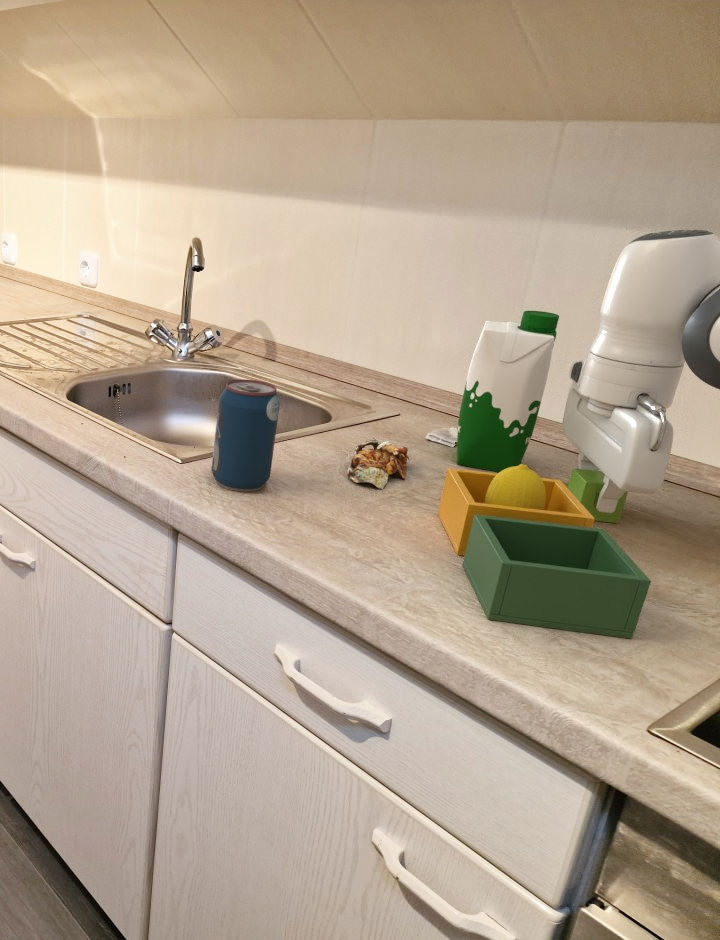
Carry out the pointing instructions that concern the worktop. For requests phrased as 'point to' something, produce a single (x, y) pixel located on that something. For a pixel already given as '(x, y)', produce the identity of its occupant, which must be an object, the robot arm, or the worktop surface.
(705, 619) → the worktop surface
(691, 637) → the worktop surface
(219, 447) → the soda can
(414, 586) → the worktop surface
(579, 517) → the ochre bin
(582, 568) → the green bin
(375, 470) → the pastry
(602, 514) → the green block
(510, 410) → the milk carton
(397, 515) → the worktop surface
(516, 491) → the lemon
